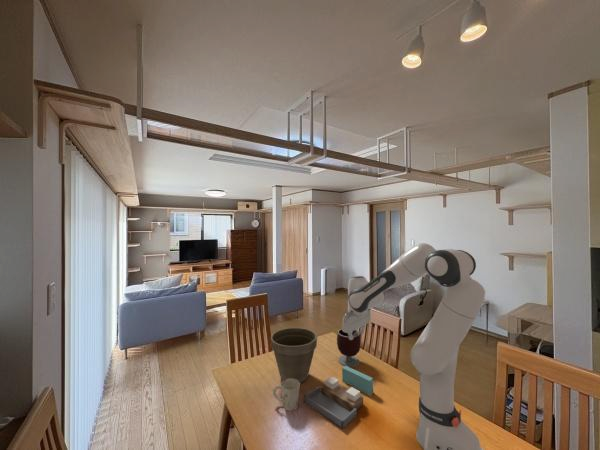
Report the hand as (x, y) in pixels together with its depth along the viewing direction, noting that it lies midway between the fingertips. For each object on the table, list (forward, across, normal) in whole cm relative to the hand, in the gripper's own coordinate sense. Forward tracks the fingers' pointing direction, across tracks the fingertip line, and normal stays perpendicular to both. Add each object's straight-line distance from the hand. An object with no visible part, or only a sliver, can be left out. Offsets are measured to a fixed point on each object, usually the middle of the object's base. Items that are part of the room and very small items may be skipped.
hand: (356, 336), depth 125 cm
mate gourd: (+26, +18, +16) cm, 36 cm away
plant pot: (+27, -15, +29) cm, 42 cm away
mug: (+26, -33, +15) cm, 45 cm away
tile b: (+22, -12, +6) cm, 26 cm away
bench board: (+26, -12, 0) cm, 28 cm away
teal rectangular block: (+26, +1, 0) cm, 26 cm away
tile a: (+22, -12, -6) cm, 25 cm away
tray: (+26, -21, 0) cm, 33 cm away
